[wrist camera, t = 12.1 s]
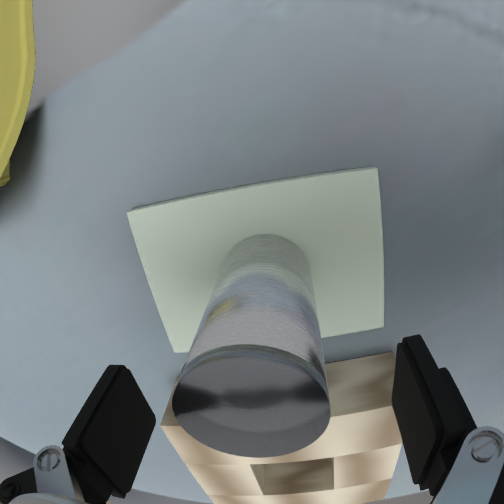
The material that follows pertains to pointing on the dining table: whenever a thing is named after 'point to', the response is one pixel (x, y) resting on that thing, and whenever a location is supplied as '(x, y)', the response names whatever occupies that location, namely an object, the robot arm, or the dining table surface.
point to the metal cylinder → (257, 356)
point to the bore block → (312, 447)
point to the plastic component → (14, 74)
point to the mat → (275, 223)
